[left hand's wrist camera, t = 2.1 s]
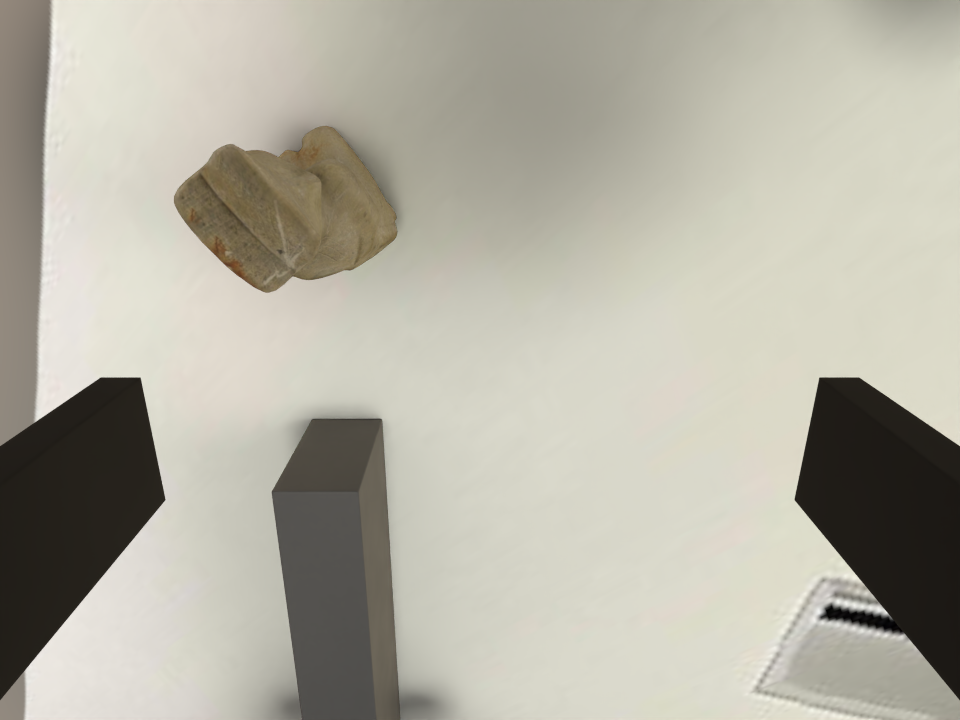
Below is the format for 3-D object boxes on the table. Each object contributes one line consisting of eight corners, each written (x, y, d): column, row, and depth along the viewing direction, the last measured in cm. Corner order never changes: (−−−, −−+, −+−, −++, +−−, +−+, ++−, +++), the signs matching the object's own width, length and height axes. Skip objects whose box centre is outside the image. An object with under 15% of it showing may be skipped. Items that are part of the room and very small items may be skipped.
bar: (311, 418, 42) (270, 491, 34) (382, 418, 42) (358, 491, 34) (343, 727, 52) (318, 842, 44) (400, 727, 52) (385, 842, 44)
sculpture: (344, 108, 35) (254, 101, 21) (422, 217, 37) (386, 276, 23) (264, 170, 36) (129, 203, 22) (344, 272, 38) (266, 361, 24)
